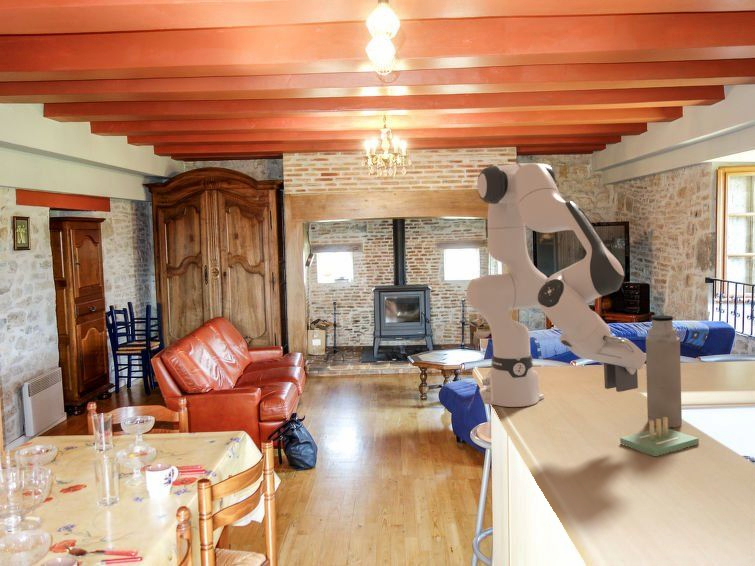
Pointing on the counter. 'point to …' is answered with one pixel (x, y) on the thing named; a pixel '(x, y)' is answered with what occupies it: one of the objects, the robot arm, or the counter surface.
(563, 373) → the counter surface
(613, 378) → the block
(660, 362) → the thermos bottle
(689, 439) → the header board
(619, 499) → the counter surface
